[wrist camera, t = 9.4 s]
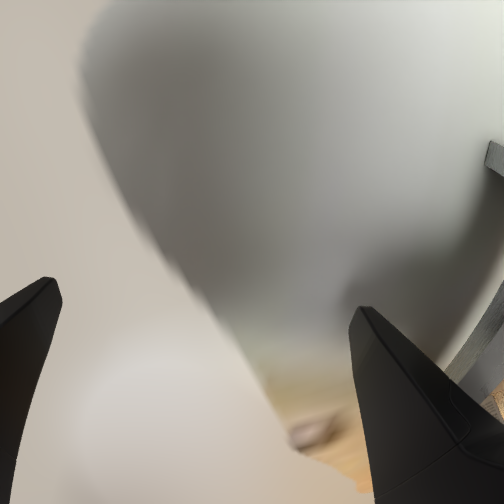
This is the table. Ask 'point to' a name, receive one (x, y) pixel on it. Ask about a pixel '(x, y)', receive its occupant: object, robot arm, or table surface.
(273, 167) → the table surface
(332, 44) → the table surface
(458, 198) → the table surface
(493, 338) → the grey bracket bar
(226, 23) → the table surface
